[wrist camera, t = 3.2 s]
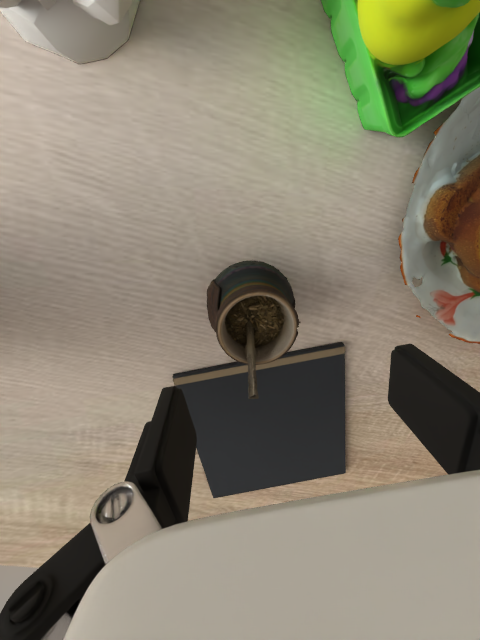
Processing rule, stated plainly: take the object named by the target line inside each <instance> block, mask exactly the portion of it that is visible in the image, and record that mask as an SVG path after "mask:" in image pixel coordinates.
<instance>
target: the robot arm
mask: <svg viewBox="0 0 480 640" xmlns="http://www.w3.org/2000/svg"><path fill="white" fill-rule="evenodd" d="M388 401H389V404H390V406H391V407H392V408H393V410H394V411H395V412H396V413H397V414H398V415H399V417H400V418H401V419H402V420H403V421H404V423H405V424H406V425H407V426H408V427H409V428H410V430H411V431H412V432H413V433H414V434H415V436H416V437H417V438H418V439H419V440H420V441H421V443H422V444H423V445H424V446H425V447H426V449H427V450H428V451H429V452H430V453H431V454H432V456H433V457H434V458H435V459H436V460H437V462H438V463H439V464H440V465H441V466H442V467H443V469H444V470H445V471H446V472H447V473H448V474H449V475H443V476H437V477H431V478H425V479H419V480H413V481H407V482H401V483H395V484H389V485H383V486H377V487H371V488H365V489H359V490H353V491H348V492H342V493H336V494H330V495H324V496H319V497H313V498H307V499H301V500H296V501H290V502H285V503H279V504H273V505H268V506H262V507H256V508H251V509H245V510H240V511H235V512H230V513H224V514H219V515H214V516H209V517H204V518H199V519H195V520H191V521H188V513H189V504H190V496H191V487H192V478H193V469H194V461H195V452H196V443H197V435H196V431H195V428H194V425H193V422H192V418H191V415H190V412H189V409H188V406H187V403H186V400H185V397H184V394H183V391H182V389H181V388H179V389H178V388H177V386H171V387H166V388H163V389H162V391H161V394H160V397H159V400H158V403H157V406H156V409H155V412H154V415H153V418H152V421H150V422H147V423H146V424H145V426H144V429H143V432H142V435H141V437H140V440H139V443H138V446H137V448H136V451H135V454H134V457H133V459H132V462H131V465H130V468H129V471H128V473H127V476H126V479H125V482H120V483H117V484H114V485H113V486H111V487H110V488H108V489H107V490H106V491H105V492H103V493H102V494H101V495H100V497H99V498H98V499H97V500H96V502H95V504H94V506H93V508H92V510H91V514H90V523H89V524H88V525H87V526H86V527H85V528H84V529H83V530H81V531H80V532H79V533H78V534H77V535H76V536H75V537H74V538H72V539H71V540H70V541H69V542H68V543H67V544H66V545H65V546H63V547H62V548H61V549H60V550H59V551H58V552H57V553H55V554H54V555H53V556H52V557H51V558H50V559H49V560H48V561H46V562H45V563H44V564H43V565H42V566H41V567H40V568H39V569H37V570H36V571H35V572H34V573H33V574H32V575H31V576H30V577H28V578H27V579H26V580H25V581H24V582H23V583H22V584H21V585H20V586H19V587H18V588H17V589H16V590H15V592H14V593H13V594H12V596H11V597H10V598H9V599H8V601H7V602H6V604H5V606H4V608H3V610H2V611H1V613H0V640H480V392H478V391H477V390H475V389H474V388H473V387H471V386H470V385H468V384H467V383H466V382H464V381H463V380H462V379H460V378H459V377H457V376H456V375H455V374H453V373H452V372H450V371H449V370H448V369H446V368H445V367H443V366H442V365H441V364H439V363H438V362H436V361H435V360H434V359H432V358H431V357H429V356H428V355H427V354H425V353H424V352H423V351H421V350H420V349H418V348H417V347H416V346H414V345H412V344H406V345H400V346H396V347H395V350H393V351H392V353H391V365H390V378H389V391H388Z"/></svg>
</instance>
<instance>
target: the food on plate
mask: <svg viewBox="0 0 480 640" xmlns="http://www.w3.org/2000/svg"><path fill="white" fill-rule="evenodd" d="M434 134H435V136H436V138H435V139H433V140H432V141H431V142H430V144H429V146H428V148H427V150H426V152H425V154H424V157H423V162H422V165H421V166H420V167H419V168H418V170H417V171H416V173H415V175H414V178H413V182H412V183H415V185H414V189H413V192H412V195H411V198H410V201H409V203H408V206H407V210H406V215H405V217H404V218H403V219H402V221H403V225H404V228H403V231H402V233H401V234H400V236H399V238H398V240H399V246H400V248H401V254H400V260H401V262H402V263H401V266H400V269H401V273H402V276H403V279H404V283H405V285H408V286H409V287H410V288H411V289H412V292H413V294H414V295H415V296H416V297H417V298H418V299H419V300H420V303H421V306H422V308H424V309H426V310H428V311H429V312H430V314H431V315H432V316H433V317H434V318H435V319H436V320H438V321H439V322H440V323H441V324H443V325H444V326H445V327H447V329H449V330H451V331H453V332H452V333H450V334H449V335H450V336H451V337H453V338H456V339H459V340H463V341H465V342H468V343H478V344H480V87H479V88H477V89H476V90H474V91H473V92H471V93H470V94H468V95H467V96H465V97H464V98H462V99H461V103H460V104H459V106H458V107H457V109H456V110H455V111H454V112H453V113H452V114H451V116H450V117H449V118H448V119H447V120H446V121H445V122H444V123H443V124H442V125H441V126H440V127H439V128H438V129H437V130H436V131H435V132H434ZM413 277H415V278H417V279H419V280H420V278H421V277H423V280H422V284H421V285H420V286H419V287H414V285H413V284H412V279H413ZM416 316H417V317H420V316H418V315H416Z"/></svg>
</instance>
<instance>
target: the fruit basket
mask: <svg viewBox="0 0 480 640" xmlns="http://www.w3.org/2000/svg"><path fill="white" fill-rule="evenodd" d="M321 2H322V5H323V8H324V11H325V13H326V14H327V15H328V17H329V18H330V19H331V32H332V35H333V38H334V41H335V44H336V47H337V50H338V53H339V56H340V57H341V58H342V60H343V61H344V62H345V74H346V77H347V80H348V83H349V86H350V89H351V92H352V95H353V96H354V98H355V99H356V100H357V101H358V103H357V106H358V114H359V117H360V120H361V123H362V126H363V128H364V129H365V130H372V131H380V132H386V133H387V134H389V135H392V136H395V137H404V136H406V135H408V134H409V133H411V132H412V131H414V130H415V129H416V128H418V127H419V126H420V125H422V124H424V123H425V122H427V121H429V120H430V119H432V118H433V117H435V116H436V115H438V114H439V113H441V112H442V111H444V110H445V109H447V108H448V107H450V106H451V105H453V104H454V103H456V102H457V101H459V100H460V99H462V98H464V97H465V96H467V95H468V94H470V93H471V92H473V91H474V90H476V89H477V88H479V87H480V0H321Z"/></svg>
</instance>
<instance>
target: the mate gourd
mask: <svg viewBox="0 0 480 640" xmlns="http://www.w3.org/2000/svg"><path fill="white" fill-rule="evenodd" d="M207 309H208V316H209V321H210V323H211V326H212V328H213V329H214V331H215V332H216V334H217V339H218V341H219V344H220V346H221V347H222V349H223V350H224V351H225V353H226V354H227V355H228V356H230V357H231V358H232V359H234V360H236V361H238V362H241V363H244V364H248V374H249V375H248V384H249V387H248V395H249V397H248V399H258V398H259V397H258V391H257V377H256V365H260V364H266V363H270V362H273V361H275V360H277V359H279V358H281V357H282V356H283V355H284V354H285V353H286V352H287V351H288V350H289V349H290V348H291V346H292V345H293V343H294V342H295V340H296V337H297V335H298V331H297V330H298V329H297V327H299V326H298V325H299V323H300V322H299V319H298V315H297V312H296V310H295V298H294V295H293V291H292V288H291V286H290V284H289V282H288V280H287V278H286V277H285V276H284V275H283V274H282V273H281V272H280V271H279V270H278V269H277V268H275V267H274V266H271V265H269V264H266V263H264V262H261V261H260V262H258V261H243V262H239V263H236V264H234V265H231V266H229V267H228V268H226V269H225V270H224V271H223V272H222V273H220V274H219V275H218V277H217V278H216V279H215V280H213V281H212V282H211V284H210V286H209V287H208V290H207Z"/></svg>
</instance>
